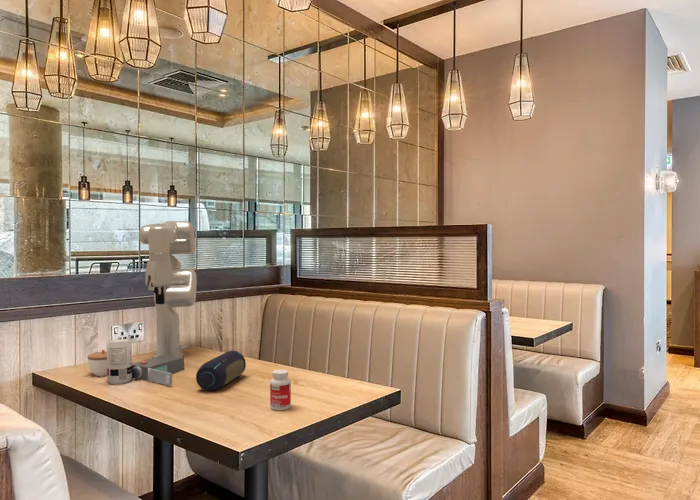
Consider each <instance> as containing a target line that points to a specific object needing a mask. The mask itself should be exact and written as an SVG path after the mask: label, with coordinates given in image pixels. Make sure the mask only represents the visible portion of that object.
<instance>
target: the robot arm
mask: <svg viewBox="0 0 700 500" xmlns="http://www.w3.org/2000/svg"><path fill="white" fill-rule="evenodd" d="M138 239H139V242H140V243H141V244H143V245H148V261H147V263H146V267H145V280H144V281H145V286H146V287H147V288H148V289H147V290H148V291H152V292H153V299H154V301H153V302H154V305H155V314H156V315H155V316H156V319H155V320H156V353H155V354H154V355H152V358H155V357H159V356H163V355H169V356H177V357H184V353H183V351H184V350H187V349H188V345H186V344H185V345H182V344H181V345H180V343H181V342H180V339H181V338H180V336H181V335H180V316H179V314H178V312H177V311H176V310H175V309H174V308H182V307H183V308H184V307H185V308H186V307H192V306H194V305H195V303H196V299H197V285H198V284H197V283H198V282H197V273H196V271H195V270H194V269H193V268H182V264H181V262H180V261H179V260H178V258H176V257H175V256H174V255H191V254H194V253H195V251H196V238H195V230H194V227H193V225H192V223H191V222H190V221H187V220H168V221H165V222H159V223H150V224H144V225H142V226H141V227H140V229H139V231H138Z"/></svg>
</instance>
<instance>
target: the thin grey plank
mask: <svg viewBox="0 0 700 500" xmlns="http://www.w3.org/2000/svg"><path fill="white" fill-rule="evenodd" d="M149 382H153V383H158V384H162V385H166V386H170V387H172V386H173V374H172V373H168V372H164V371H159V370H155V369H150V381H149Z"/></svg>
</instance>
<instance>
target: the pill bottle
mask: <svg viewBox="0 0 700 500" xmlns="http://www.w3.org/2000/svg"><path fill="white" fill-rule="evenodd" d="M271 374H272V375H271V376H272V378H271V379H270V382H269V383H270V385H269V387H270V388H269V392H270V395H269V397H270V398H269V399H270V400H269V401H270V402H269V403H270V405H269V406H270V407H269V408H270V409H271V410H272V411H286V410H289V409H290V408H291V406H292V405H291V402H292V401H291V399H292V395H291V392H292V391H291V390H292V388H291V387H292V386H291V385H292V384H291V379H290V378H289V371H288V370H287V369H276V370H273V371H272V373H271Z"/></svg>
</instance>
